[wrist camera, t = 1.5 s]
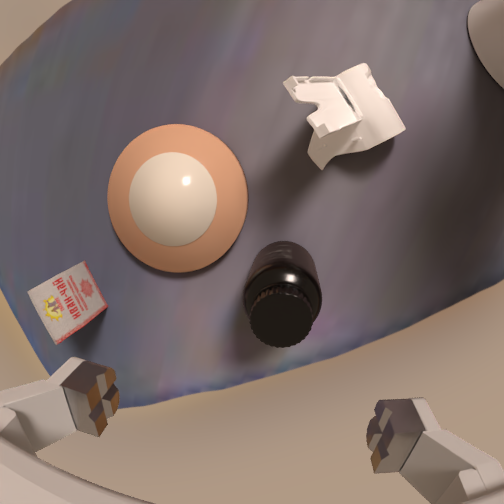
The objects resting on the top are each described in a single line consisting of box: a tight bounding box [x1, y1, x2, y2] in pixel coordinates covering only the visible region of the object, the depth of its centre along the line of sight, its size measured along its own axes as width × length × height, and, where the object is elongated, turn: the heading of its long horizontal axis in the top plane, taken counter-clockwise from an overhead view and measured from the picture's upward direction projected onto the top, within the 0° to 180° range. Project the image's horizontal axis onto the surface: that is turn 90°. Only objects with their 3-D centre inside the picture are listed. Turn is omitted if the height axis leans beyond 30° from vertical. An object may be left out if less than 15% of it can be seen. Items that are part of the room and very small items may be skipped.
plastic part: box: [283, 64, 406, 170], centre depth 25 cm, size 8×10×12 cm
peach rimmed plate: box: [108, 124, 249, 272], centre depth 33 cm, size 16×16×2 cm
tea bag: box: [28, 261, 108, 345], centre depth 34 cm, size 4×7×10 cm, turn 24°
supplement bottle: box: [243, 241, 322, 348], centre depth 29 cm, size 7×7×12 cm
